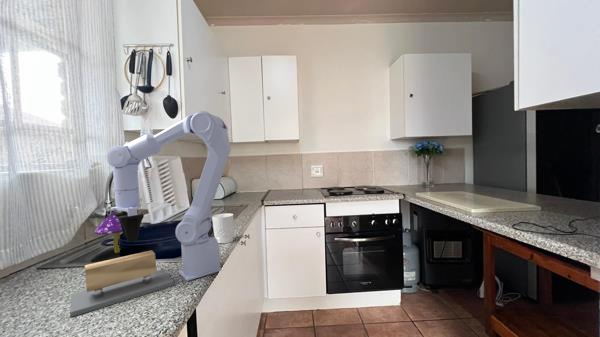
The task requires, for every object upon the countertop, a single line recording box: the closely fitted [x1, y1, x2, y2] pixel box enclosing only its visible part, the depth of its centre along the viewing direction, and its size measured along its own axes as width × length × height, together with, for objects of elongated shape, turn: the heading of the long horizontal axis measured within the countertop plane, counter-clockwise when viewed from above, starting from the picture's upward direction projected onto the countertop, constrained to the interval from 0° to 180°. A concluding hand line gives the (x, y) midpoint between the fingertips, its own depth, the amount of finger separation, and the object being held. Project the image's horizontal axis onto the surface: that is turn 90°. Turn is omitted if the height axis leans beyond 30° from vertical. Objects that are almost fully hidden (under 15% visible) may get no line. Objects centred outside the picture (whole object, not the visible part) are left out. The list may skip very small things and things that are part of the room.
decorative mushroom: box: [93, 210, 123, 254], centre depth 98 cm, size 12×12×15 cm
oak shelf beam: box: [84, 250, 157, 292], centre depth 67 cm, size 4×14×5 cm, turn 129°
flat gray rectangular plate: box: [69, 268, 175, 318], centre depth 67 cm, size 20×11×3 cm, turn 129°
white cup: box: [211, 212, 235, 245], centre depth 105 cm, size 8×8×10 cm
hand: (130, 238), depth 77 cm, fingers open, 7 cm apart
